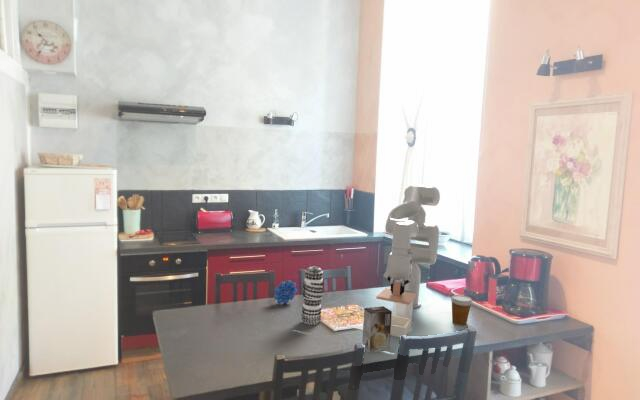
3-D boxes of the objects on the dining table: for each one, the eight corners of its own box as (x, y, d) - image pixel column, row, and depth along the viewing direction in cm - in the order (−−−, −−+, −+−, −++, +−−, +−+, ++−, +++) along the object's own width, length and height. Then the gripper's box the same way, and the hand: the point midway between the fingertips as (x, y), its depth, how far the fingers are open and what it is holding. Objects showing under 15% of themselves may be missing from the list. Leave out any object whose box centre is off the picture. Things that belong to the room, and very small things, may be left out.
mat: (349, 316, 220) (349, 314, 220) (378, 322, 215) (378, 320, 215) (338, 325, 207) (338, 324, 207) (369, 332, 202) (369, 331, 202)
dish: (384, 324, 213) (385, 313, 212) (410, 329, 208) (411, 318, 207) (376, 333, 202) (377, 322, 201) (404, 339, 197) (405, 328, 196)
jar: (401, 322, 217) (403, 296, 215) (389, 316, 223) (391, 291, 222) (415, 319, 222) (417, 294, 220) (403, 313, 228) (405, 289, 227)
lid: (385, 290, 212) (386, 274, 211) (416, 295, 206) (417, 280, 206) (376, 298, 199) (377, 282, 198) (409, 304, 194) (410, 288, 193)
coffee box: (381, 344, 191) (384, 305, 189) (389, 350, 185) (392, 311, 183) (361, 346, 187) (364, 307, 186) (369, 353, 182) (372, 313, 180)
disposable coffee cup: (445, 322, 220) (447, 297, 218) (454, 317, 227) (457, 293, 225) (464, 328, 213) (466, 302, 212) (473, 323, 220) (476, 298, 219)
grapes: (293, 300, 238) (295, 277, 236) (297, 304, 231) (299, 280, 230) (271, 301, 234) (272, 278, 232) (274, 306, 227) (276, 282, 226)
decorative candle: (324, 321, 212) (328, 267, 209) (315, 328, 203) (319, 271, 200) (306, 317, 215) (309, 263, 213) (297, 323, 207) (300, 268, 204)
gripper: (421, 252, 201) (417, 294, 203) (384, 247, 207) (381, 288, 209) (417, 256, 194) (414, 299, 196) (379, 250, 200) (376, 292, 202)
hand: (397, 293), depth 203 cm, fingers closed on lid, 3 cm apart
